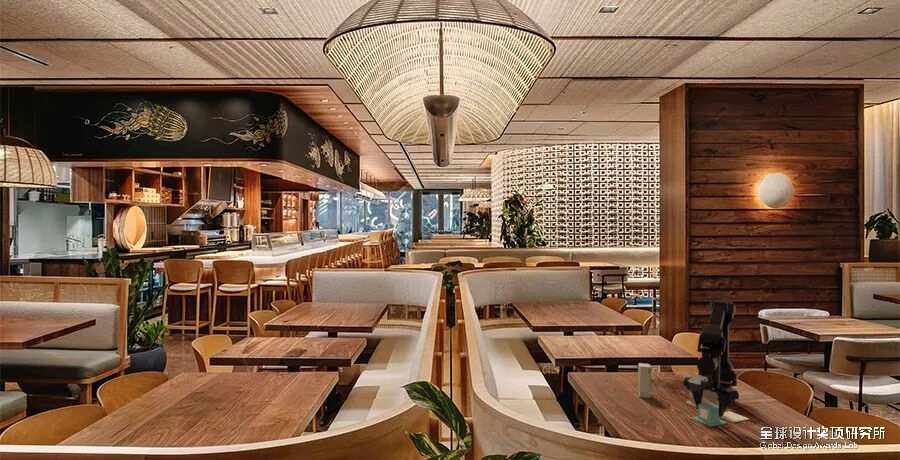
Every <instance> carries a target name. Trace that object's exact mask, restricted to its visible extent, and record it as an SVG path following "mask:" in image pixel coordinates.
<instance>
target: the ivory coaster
mask: <svg viewBox="0 0 900 460" xmlns="http://www.w3.org/2000/svg"><path fill="white" fill-rule="evenodd" d="M720 419H723V420H726V421H728V422H731V423H738V422H743V421H749V420H750V418H749V417H746V416H744V415H741V414H738V413H735V412H732V411H731V410H727V411H725V413H724V414H723V416H722V417H720Z"/></svg>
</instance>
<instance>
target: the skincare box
mask: <svg viewBox="0 0 900 460" xmlns="http://www.w3.org/2000/svg"><path fill="white" fill-rule="evenodd" d="M637 366H638V367H637V370H638V371H637V374H638V375H637V395H638V397H639V398H645V399H647V398H648V399H651V398H652V365H651V364H649V363H641V362H639V363H638V365H637Z"/></svg>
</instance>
